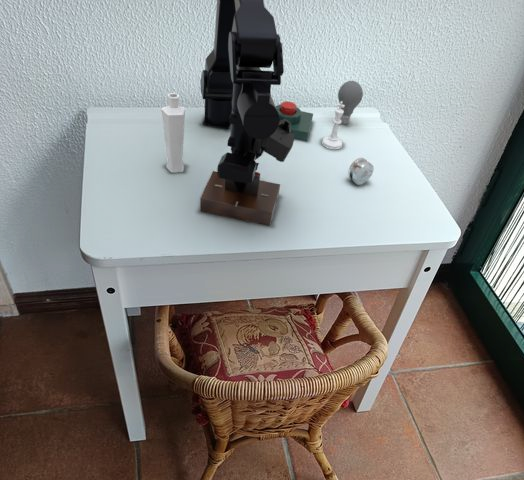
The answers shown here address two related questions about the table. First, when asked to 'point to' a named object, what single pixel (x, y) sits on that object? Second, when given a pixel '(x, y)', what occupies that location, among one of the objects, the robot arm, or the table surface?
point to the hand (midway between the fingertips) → (241, 188)
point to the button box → (298, 122)
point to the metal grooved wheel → (360, 171)
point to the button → (288, 108)
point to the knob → (249, 188)
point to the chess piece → (334, 131)
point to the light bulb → (349, 98)
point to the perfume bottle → (174, 133)
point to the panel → (240, 201)
